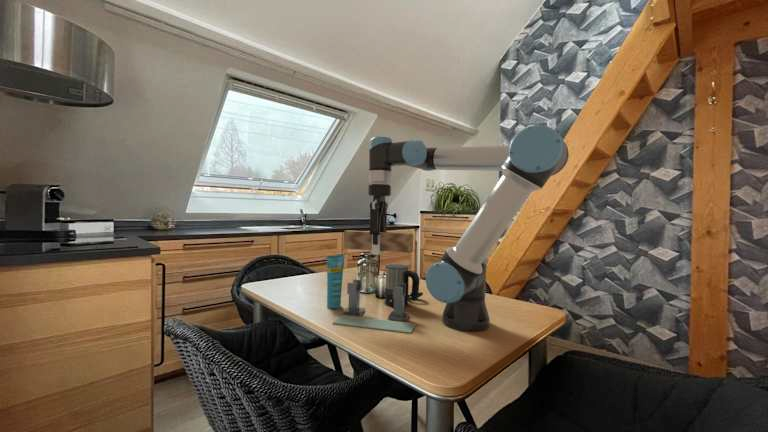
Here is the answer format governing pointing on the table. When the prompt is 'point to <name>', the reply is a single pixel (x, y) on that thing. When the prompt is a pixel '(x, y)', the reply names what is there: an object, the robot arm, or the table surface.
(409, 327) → the felt mat
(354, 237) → the rail
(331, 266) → the tube
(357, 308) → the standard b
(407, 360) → the table surface
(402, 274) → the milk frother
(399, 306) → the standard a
